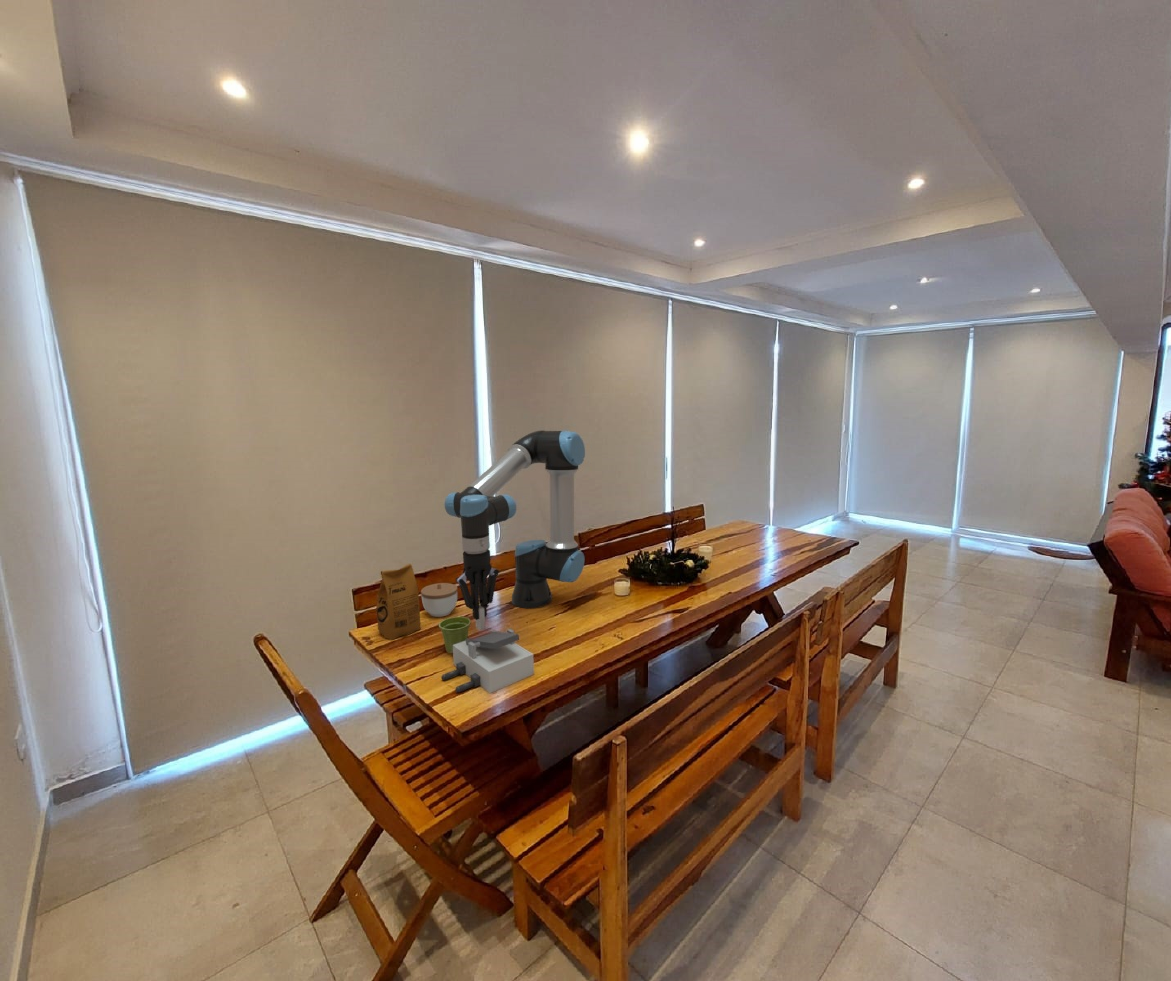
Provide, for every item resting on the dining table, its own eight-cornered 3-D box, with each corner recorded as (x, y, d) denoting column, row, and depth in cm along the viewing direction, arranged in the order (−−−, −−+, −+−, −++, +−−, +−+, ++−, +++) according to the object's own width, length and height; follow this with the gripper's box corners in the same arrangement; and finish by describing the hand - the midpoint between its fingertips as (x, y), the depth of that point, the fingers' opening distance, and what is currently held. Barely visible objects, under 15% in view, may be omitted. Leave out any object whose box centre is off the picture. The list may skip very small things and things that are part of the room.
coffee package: (374, 633, 168) (369, 569, 164) (410, 621, 177) (405, 560, 173) (388, 642, 161) (383, 576, 157) (424, 630, 170) (420, 566, 166)
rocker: (494, 635, 152) (493, 629, 152) (523, 638, 140) (522, 632, 140) (462, 646, 145) (461, 640, 146) (490, 650, 133) (488, 644, 133)
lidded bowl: (419, 610, 186) (417, 581, 185) (454, 603, 192) (452, 575, 190) (425, 623, 175) (424, 592, 173) (462, 616, 181) (460, 586, 179)
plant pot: (434, 649, 156) (433, 622, 155) (461, 639, 163) (460, 613, 162) (450, 660, 150) (448, 632, 148) (477, 649, 156) (476, 622, 155)
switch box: (495, 649, 156) (494, 618, 155) (533, 674, 142) (533, 641, 140) (432, 672, 143) (430, 639, 141) (467, 703, 128) (465, 667, 127)
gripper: (462, 558, 137) (466, 640, 141) (503, 548, 145) (506, 625, 149) (448, 552, 142) (454, 631, 146) (489, 542, 151) (493, 617, 155)
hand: (480, 628), depth 148 cm, fingers closed
